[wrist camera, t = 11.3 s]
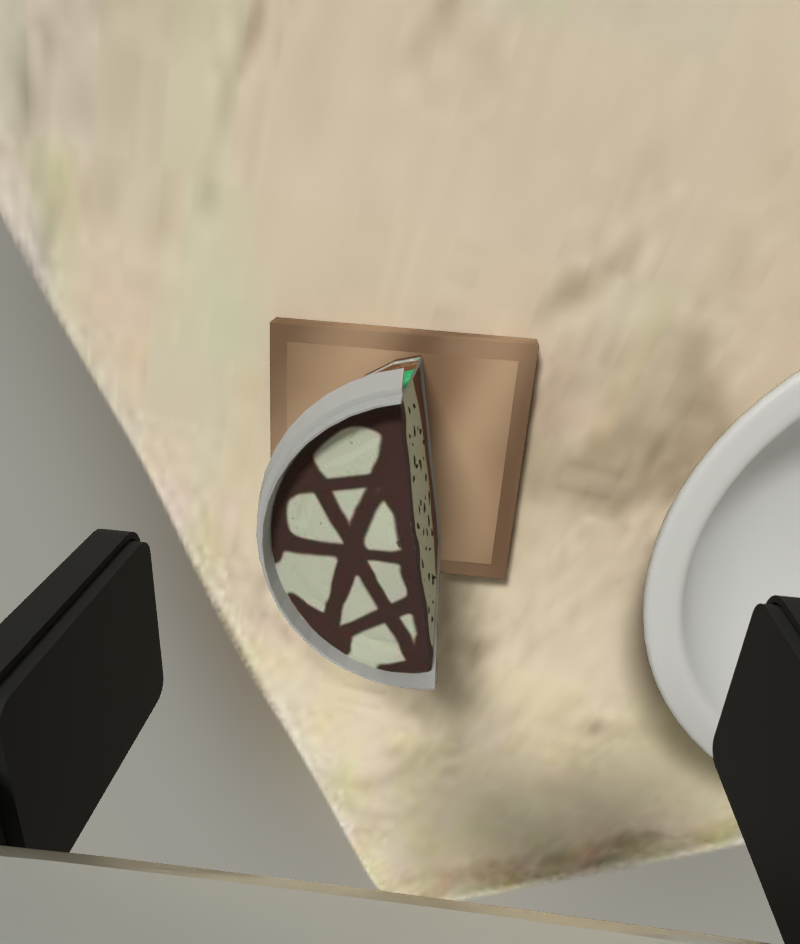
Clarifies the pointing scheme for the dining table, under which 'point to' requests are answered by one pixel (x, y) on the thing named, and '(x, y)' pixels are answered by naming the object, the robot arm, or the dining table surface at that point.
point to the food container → (358, 528)
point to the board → (429, 417)
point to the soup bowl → (724, 558)
